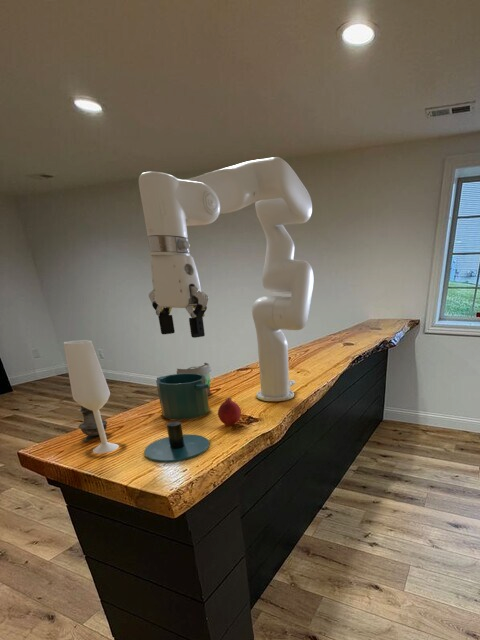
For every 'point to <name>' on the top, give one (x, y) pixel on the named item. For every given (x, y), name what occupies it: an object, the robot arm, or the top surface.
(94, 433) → the grey lumpy figure
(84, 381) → the champagne flute
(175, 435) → the lid
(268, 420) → the top surface
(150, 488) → the top surface
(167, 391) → the pot
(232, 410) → the onion
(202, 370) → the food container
